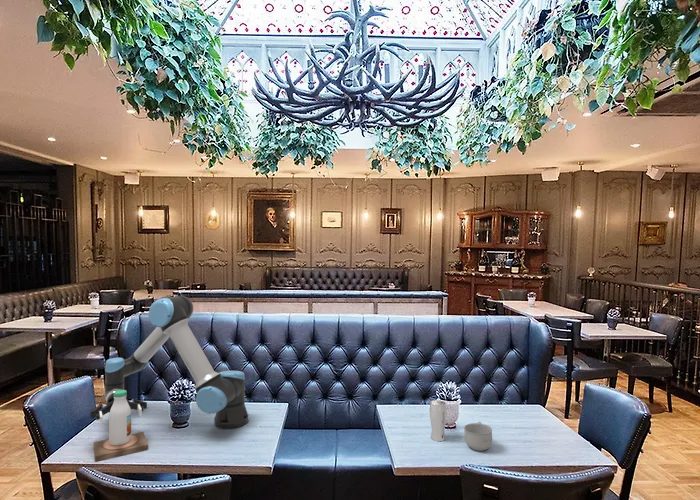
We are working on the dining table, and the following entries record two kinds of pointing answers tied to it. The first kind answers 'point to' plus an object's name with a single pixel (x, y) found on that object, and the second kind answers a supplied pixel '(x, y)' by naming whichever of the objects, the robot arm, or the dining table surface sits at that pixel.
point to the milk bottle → (120, 420)
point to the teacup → (478, 436)
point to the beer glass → (438, 419)
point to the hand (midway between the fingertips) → (121, 416)
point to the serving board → (120, 447)
